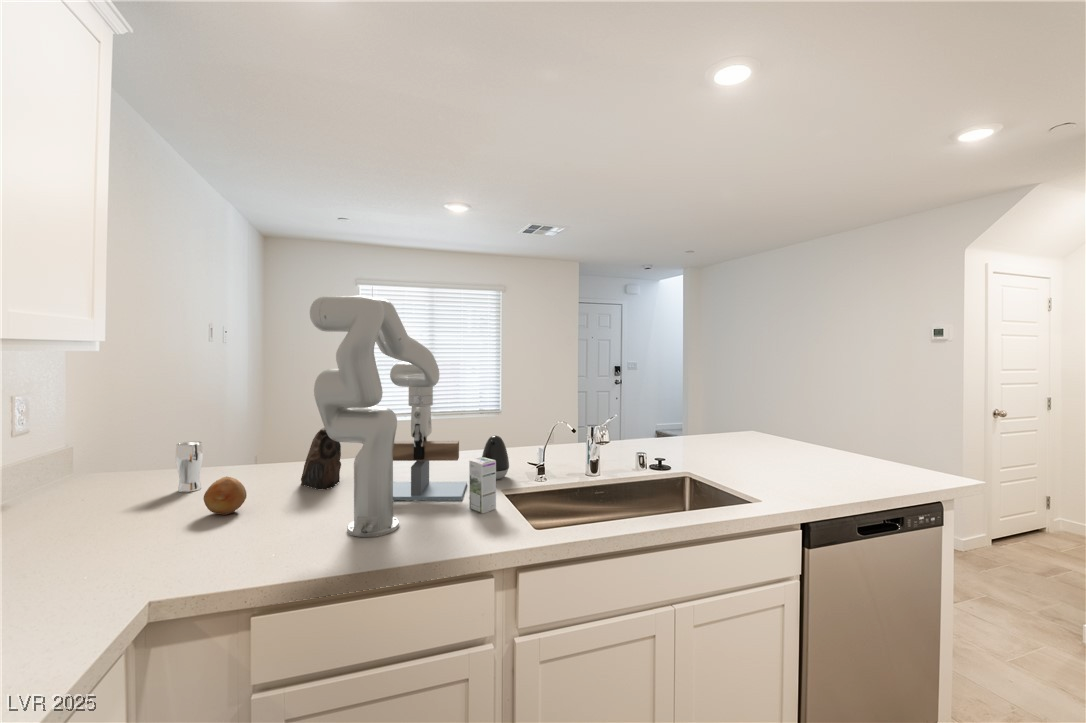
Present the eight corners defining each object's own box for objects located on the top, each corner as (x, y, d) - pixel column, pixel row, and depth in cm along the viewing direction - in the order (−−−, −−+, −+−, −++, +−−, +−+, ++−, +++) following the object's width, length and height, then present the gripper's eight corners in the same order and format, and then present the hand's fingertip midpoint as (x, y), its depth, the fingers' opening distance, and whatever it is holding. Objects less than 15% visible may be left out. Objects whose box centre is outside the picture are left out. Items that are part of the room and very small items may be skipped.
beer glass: (207, 488, 155) (206, 442, 155) (181, 494, 150) (181, 446, 149) (197, 485, 159) (196, 440, 159) (172, 490, 153) (171, 443, 153)
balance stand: (461, 500, 147) (461, 467, 147) (368, 500, 146) (368, 468, 145) (466, 485, 163) (467, 455, 163) (383, 485, 162) (383, 455, 161)
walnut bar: (457, 460, 153) (457, 443, 152) (380, 460, 151) (380, 443, 151) (459, 457, 157) (459, 440, 156) (384, 457, 155) (384, 440, 155)
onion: (199, 513, 133) (199, 477, 133) (240, 504, 141) (240, 471, 140) (208, 522, 127) (208, 485, 126) (251, 513, 134) (250, 477, 134)
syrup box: (496, 509, 140) (497, 459, 139) (481, 514, 135) (481, 463, 135) (484, 504, 144) (484, 456, 143) (468, 509, 139) (468, 459, 139)
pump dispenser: (476, 480, 168) (477, 437, 168) (485, 473, 179) (485, 432, 178) (505, 482, 167) (505, 439, 166) (511, 474, 177) (512, 433, 176)
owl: (337, 477, 171) (337, 421, 170) (352, 485, 162) (352, 425, 161) (299, 484, 162) (299, 425, 161) (313, 492, 153) (312, 430, 152)
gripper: (427, 404, 145) (427, 464, 146) (436, 397, 162) (436, 451, 162) (402, 403, 145) (402, 464, 145) (414, 397, 161) (414, 451, 162)
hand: (420, 457), depth 154 cm, fingers closed on walnut bar, 3 cm apart
